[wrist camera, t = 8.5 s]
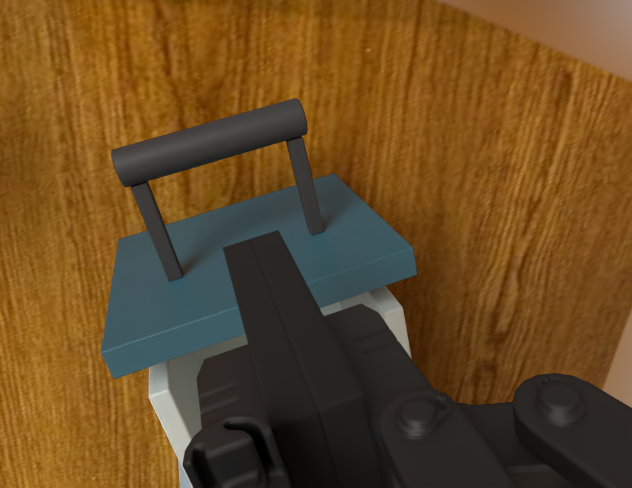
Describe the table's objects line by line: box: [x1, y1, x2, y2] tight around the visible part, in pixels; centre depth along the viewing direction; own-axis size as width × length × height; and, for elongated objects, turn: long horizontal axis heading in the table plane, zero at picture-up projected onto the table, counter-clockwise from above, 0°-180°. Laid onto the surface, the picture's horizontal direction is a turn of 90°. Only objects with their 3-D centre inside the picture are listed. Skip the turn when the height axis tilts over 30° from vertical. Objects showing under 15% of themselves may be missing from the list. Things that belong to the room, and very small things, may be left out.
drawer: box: [101, 98, 417, 488], centre depth 25 cm, size 19×11×10 cm, turn 13°
